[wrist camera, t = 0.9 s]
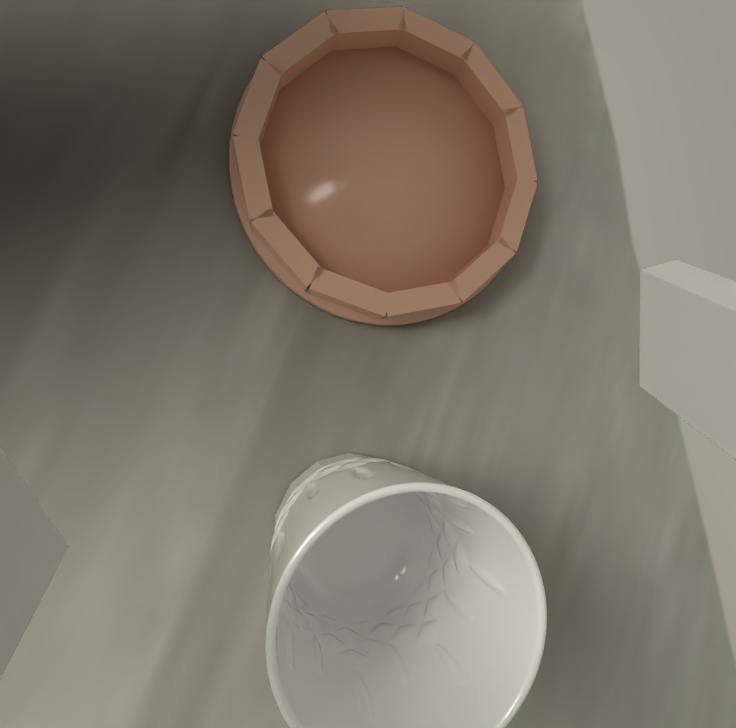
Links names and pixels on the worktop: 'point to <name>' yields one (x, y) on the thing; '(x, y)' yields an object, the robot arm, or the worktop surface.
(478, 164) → the saucer
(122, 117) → the worktop surface
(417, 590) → the white cup
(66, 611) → the worktop surface
